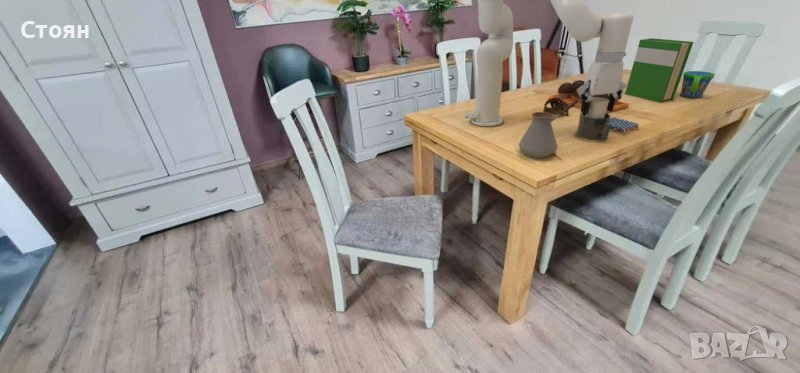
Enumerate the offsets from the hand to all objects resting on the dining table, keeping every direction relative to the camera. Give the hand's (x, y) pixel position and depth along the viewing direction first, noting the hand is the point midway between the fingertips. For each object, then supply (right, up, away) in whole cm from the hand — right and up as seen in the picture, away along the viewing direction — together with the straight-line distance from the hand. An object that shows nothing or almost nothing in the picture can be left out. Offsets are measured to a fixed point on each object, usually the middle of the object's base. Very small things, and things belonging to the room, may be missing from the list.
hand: (596, 111), depth 113 cm
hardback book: (+48, +16, +41) cm, 66 cm away
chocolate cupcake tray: (+18, +12, +38) cm, 44 cm away
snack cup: (+66, +15, +39) cm, 78 cm away
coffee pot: (-18, -14, -3) cm, 23 cm away
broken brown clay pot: (-1, +5, +27) cm, 28 cm away
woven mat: (+14, -4, +10) cm, 18 cm away
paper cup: (0, -7, +4) cm, 9 cm away
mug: (+1, -9, +3) cm, 9 cm away
